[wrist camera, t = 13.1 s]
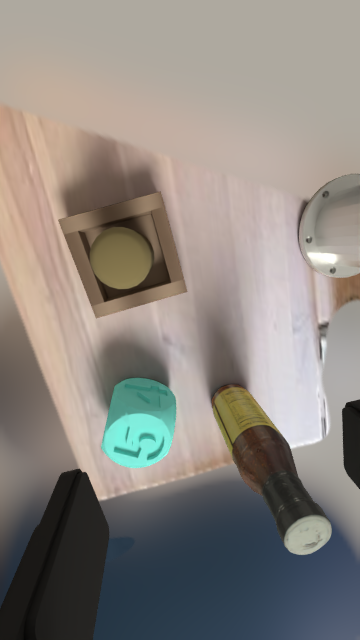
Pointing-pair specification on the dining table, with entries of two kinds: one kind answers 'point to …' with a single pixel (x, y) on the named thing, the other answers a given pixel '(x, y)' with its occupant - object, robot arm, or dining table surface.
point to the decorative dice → (139, 423)
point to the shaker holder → (141, 218)
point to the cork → (121, 257)
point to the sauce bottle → (270, 469)
